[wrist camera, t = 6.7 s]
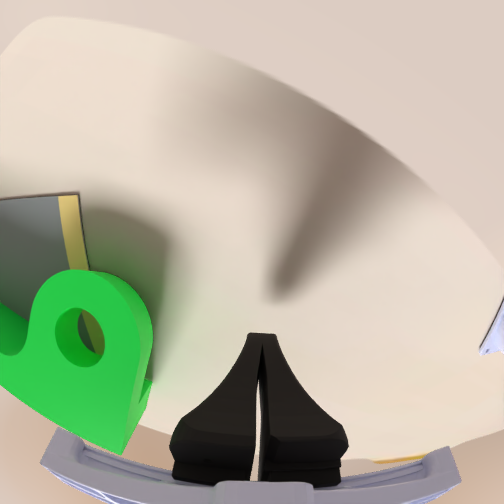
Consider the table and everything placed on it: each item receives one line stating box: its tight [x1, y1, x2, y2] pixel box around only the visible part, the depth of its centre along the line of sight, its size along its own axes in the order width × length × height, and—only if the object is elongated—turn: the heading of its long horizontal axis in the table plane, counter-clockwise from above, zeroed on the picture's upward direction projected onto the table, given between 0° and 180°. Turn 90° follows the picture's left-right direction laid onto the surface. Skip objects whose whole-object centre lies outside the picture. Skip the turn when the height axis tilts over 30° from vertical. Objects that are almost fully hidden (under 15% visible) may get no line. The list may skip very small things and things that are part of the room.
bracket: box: [0, 269, 153, 455], centre depth 14 cm, size 20×10×7 cm
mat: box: [0, 195, 105, 355], centre depth 16 cm, size 13×14×1 cm
